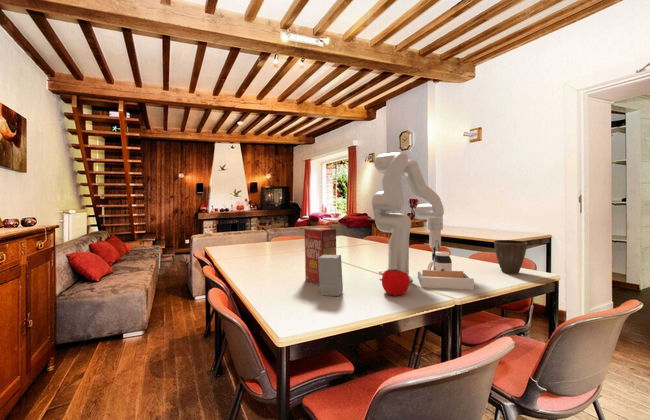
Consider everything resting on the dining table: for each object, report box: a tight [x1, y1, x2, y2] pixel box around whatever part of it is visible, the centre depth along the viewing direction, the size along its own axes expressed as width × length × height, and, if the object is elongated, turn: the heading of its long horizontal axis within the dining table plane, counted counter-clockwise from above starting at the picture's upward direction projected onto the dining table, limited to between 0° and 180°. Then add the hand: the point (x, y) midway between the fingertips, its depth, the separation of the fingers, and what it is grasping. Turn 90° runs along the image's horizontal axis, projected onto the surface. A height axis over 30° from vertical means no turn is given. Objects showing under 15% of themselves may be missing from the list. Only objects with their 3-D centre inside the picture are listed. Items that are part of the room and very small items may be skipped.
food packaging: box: [304, 226, 337, 285], centre depth 151 cm, size 13×9×25 cm
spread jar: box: [426, 250, 453, 271], centre depth 162 cm, size 12×11×12 cm
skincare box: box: [318, 254, 344, 297], centre depth 131 cm, size 8×7×16 cm
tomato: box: [381, 269, 411, 297], centre depth 131 cm, size 11×13×10 cm
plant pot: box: [493, 239, 528, 275], centre depth 166 cm, size 15×15×16 cm
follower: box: [421, 269, 464, 278], centre depth 150 cm, size 18×2×6 cm, turn 79°
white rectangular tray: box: [417, 271, 475, 291], centre depth 146 cm, size 21×17×4 cm
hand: (435, 260), depth 173 cm, fingers closed
